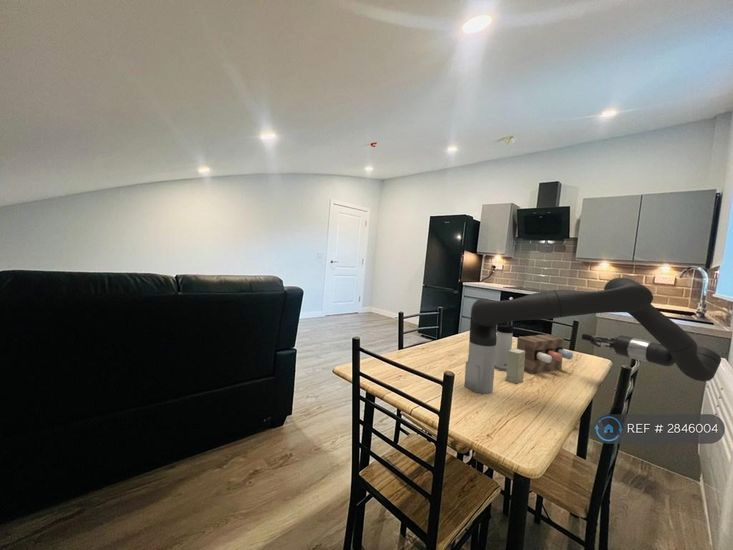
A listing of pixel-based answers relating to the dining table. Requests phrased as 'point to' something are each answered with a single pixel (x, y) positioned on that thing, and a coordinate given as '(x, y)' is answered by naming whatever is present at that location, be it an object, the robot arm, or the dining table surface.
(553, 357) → the red key
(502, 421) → the dining table surface
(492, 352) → the robot arm
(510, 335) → the travel mug
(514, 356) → the skincare box
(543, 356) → the white key
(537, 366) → the box
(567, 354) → the blue key
